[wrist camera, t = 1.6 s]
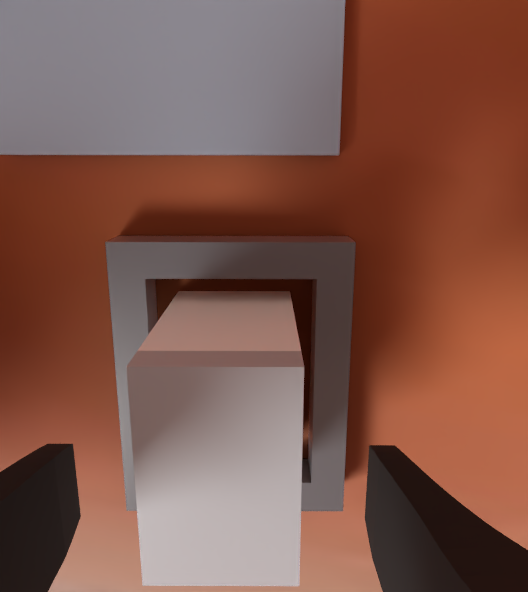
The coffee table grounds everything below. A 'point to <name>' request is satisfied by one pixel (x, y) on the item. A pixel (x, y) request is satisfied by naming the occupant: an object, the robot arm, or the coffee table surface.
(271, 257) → the holder
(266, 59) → the slate board
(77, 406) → the coffee table surface
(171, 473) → the plug
